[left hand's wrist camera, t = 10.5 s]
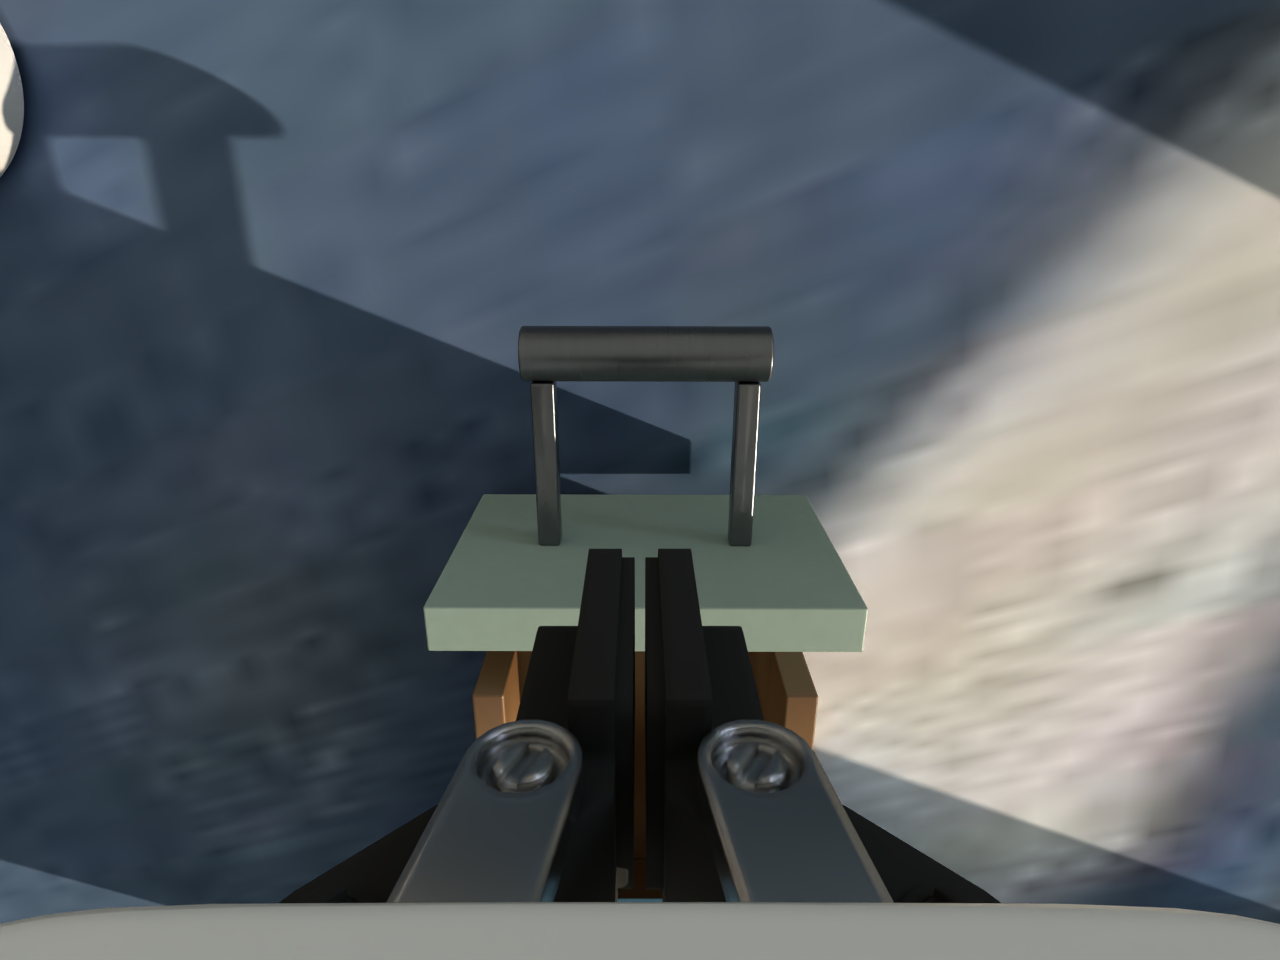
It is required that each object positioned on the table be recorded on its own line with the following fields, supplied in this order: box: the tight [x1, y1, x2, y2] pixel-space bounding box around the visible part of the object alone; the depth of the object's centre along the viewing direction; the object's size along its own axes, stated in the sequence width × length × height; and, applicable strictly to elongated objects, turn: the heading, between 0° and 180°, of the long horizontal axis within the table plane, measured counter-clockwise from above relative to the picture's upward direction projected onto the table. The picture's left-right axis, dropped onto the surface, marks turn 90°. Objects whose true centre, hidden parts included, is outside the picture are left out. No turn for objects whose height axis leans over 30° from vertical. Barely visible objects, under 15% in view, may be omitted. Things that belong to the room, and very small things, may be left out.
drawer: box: [423, 326, 868, 899], centre depth 22 cm, size 21×10×7 cm, turn 0°
